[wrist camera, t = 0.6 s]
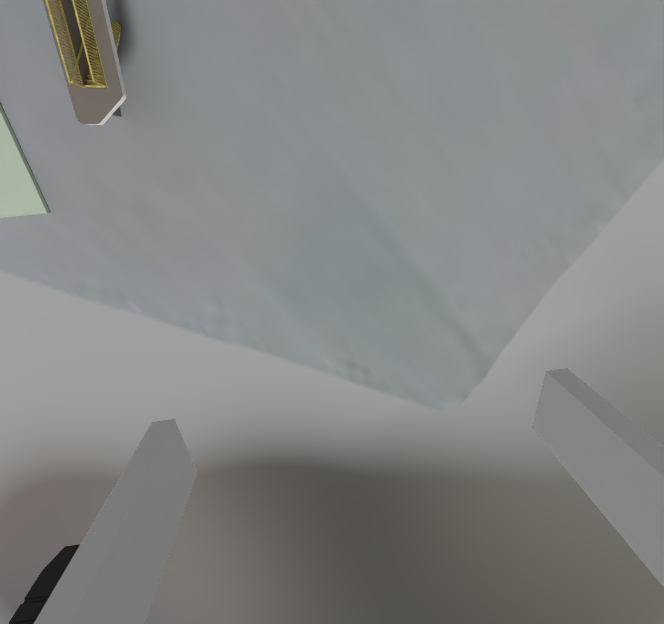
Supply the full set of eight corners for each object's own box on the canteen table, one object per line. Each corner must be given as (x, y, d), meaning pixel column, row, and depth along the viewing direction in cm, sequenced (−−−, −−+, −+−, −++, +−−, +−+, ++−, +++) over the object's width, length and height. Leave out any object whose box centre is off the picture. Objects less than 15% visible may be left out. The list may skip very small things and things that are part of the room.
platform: (170, -81, 24) (125, -160, 18) (207, 177, 32) (184, 181, 26) (2, -92, 23) (-103, -178, 17) (82, 176, 31) (29, 179, 25)
